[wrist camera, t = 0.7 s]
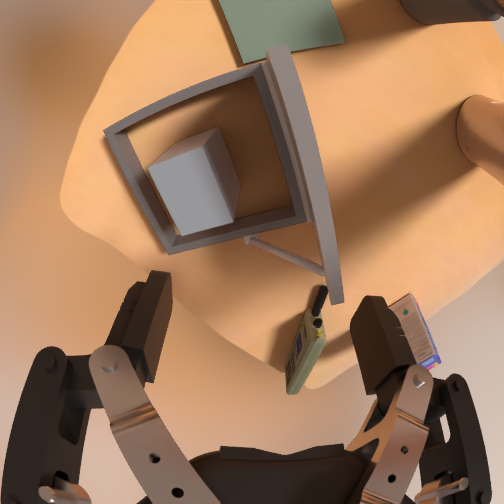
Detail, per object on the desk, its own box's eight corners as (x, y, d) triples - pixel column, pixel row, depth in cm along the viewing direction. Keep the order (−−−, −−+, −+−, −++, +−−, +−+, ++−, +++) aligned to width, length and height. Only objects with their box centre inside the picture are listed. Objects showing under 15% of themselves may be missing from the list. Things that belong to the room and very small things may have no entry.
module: (219, 126, 25) (202, 146, 19) (241, 184, 29) (233, 222, 23) (175, 142, 27) (147, 168, 20) (200, 197, 31) (181, 236, 24)
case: (114, 124, 25) (25, 176, 13) (276, 60, 21) (287, 43, 9) (177, 250, 35) (143, 341, 24) (319, 216, 31) (345, 312, 20)
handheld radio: (282, 366, 53) (311, 280, 38) (297, 366, 53) (333, 281, 38) (284, 395, 48) (319, 317, 32) (300, 394, 48) (343, 318, 33)
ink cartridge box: (375, 333, 45) (392, 403, 34) (361, 321, 43) (379, 397, 31) (420, 306, 40) (447, 376, 29) (410, 291, 38) (440, 367, 27)
